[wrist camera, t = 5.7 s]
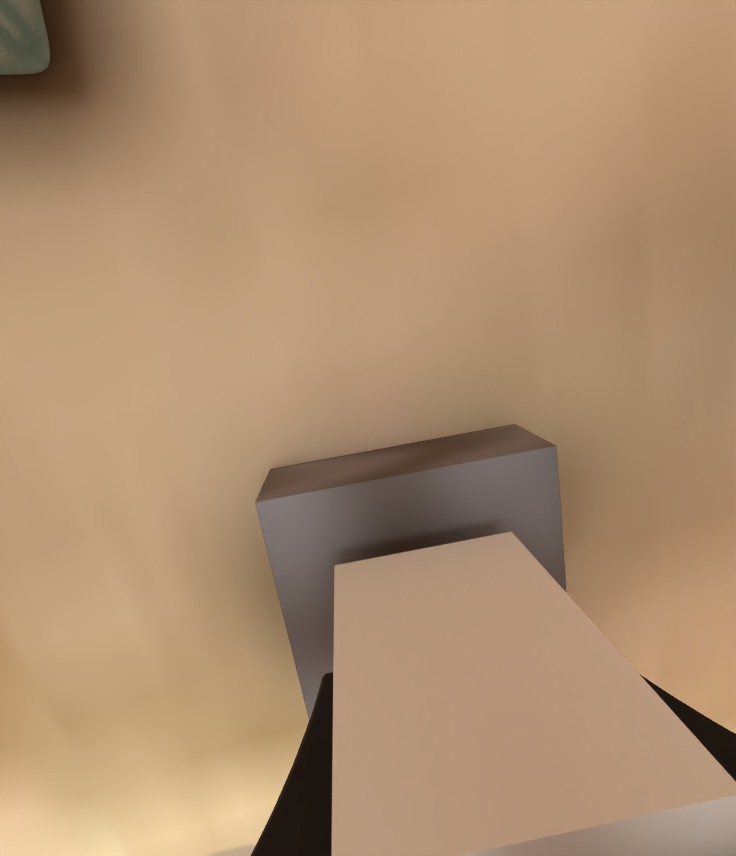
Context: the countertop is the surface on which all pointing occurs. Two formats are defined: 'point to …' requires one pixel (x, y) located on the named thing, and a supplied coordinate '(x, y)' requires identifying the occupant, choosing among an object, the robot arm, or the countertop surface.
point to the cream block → (503, 720)
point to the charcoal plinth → (400, 519)
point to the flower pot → (22, 38)
